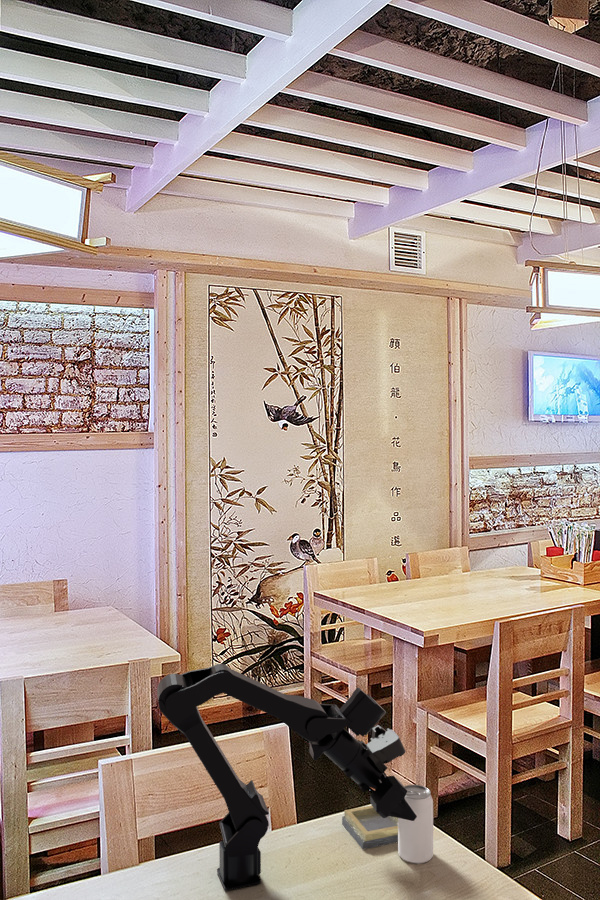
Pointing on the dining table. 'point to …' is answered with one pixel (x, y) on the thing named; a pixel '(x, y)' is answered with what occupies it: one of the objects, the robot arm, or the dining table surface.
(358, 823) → the gold square coaster
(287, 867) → the dining table surface
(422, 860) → the can
